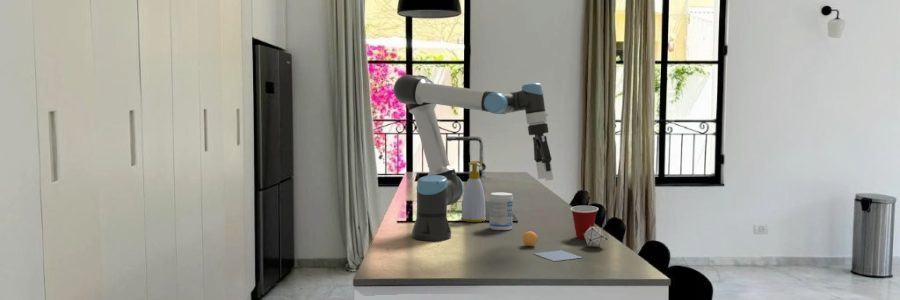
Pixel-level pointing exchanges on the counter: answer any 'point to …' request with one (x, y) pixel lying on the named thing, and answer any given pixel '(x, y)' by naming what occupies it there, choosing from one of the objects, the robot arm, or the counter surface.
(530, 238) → the ball
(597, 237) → the game die
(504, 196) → the supplement tub
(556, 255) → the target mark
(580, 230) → the plastic cup
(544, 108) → the robot arm
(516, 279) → the counter surface
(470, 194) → the soap bottle
